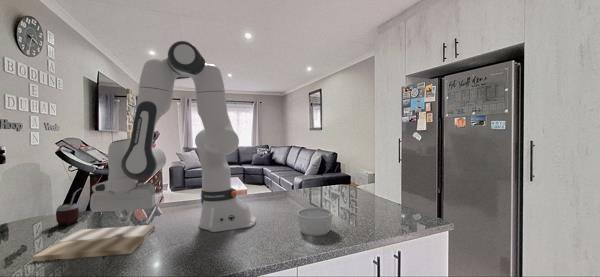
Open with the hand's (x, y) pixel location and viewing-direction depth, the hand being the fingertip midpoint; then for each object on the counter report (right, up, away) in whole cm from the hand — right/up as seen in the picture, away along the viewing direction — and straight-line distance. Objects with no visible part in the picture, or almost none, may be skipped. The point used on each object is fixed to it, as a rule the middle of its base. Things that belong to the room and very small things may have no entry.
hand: (124, 221), depth 96 cm
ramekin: (+69, -5, +3) cm, 69 cm away
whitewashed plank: (-4, -5, -1) cm, 7 cm away
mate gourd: (-31, -5, +13) cm, 34 cm away
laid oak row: (-2, -5, -12) cm, 13 cm away
